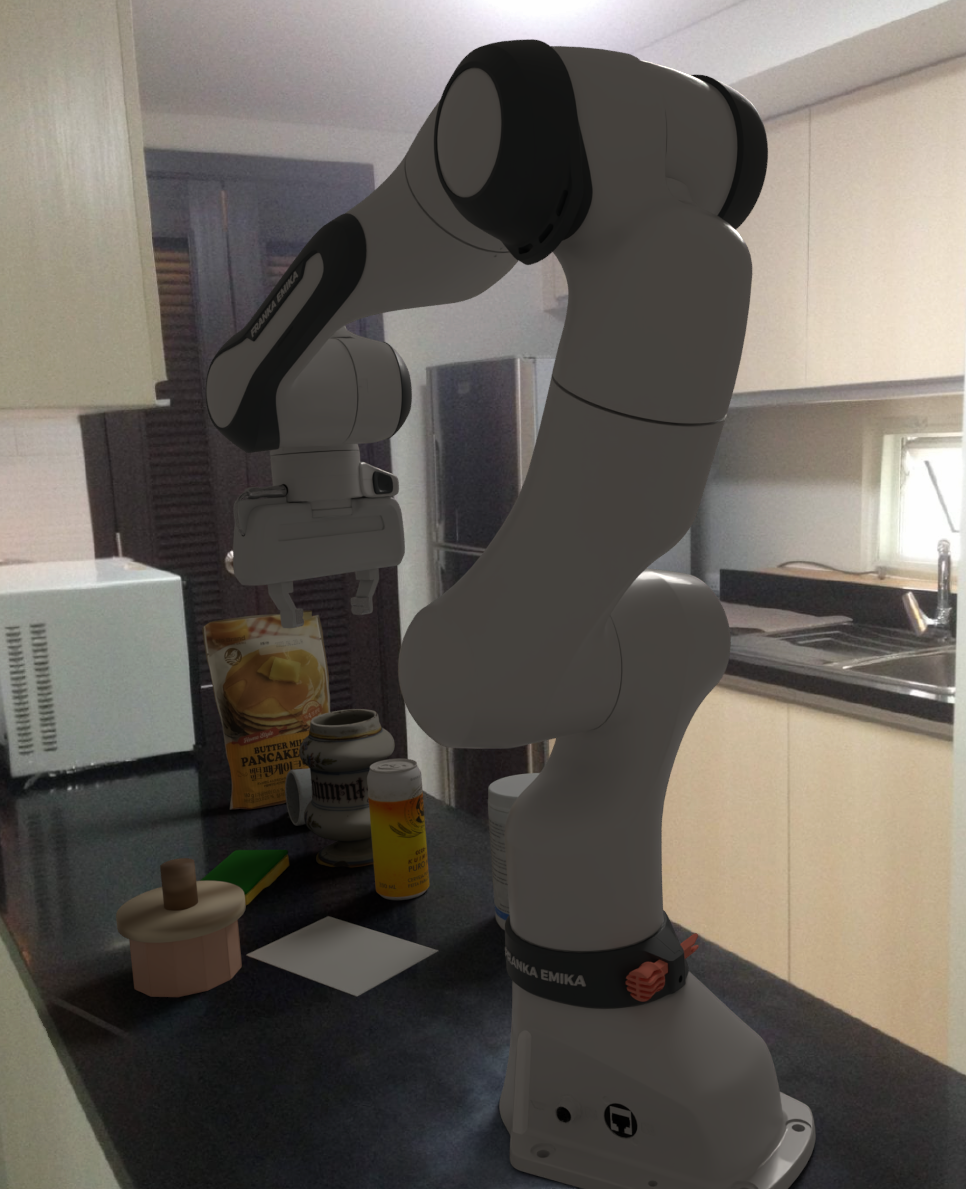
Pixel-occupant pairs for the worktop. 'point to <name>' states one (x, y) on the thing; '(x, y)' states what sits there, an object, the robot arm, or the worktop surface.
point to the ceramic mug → (298, 794)
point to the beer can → (398, 829)
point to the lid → (180, 907)
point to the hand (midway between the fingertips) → (328, 620)
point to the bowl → (186, 963)
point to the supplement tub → (502, 835)
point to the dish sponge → (250, 870)
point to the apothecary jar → (343, 782)
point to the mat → (342, 955)
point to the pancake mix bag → (266, 699)
